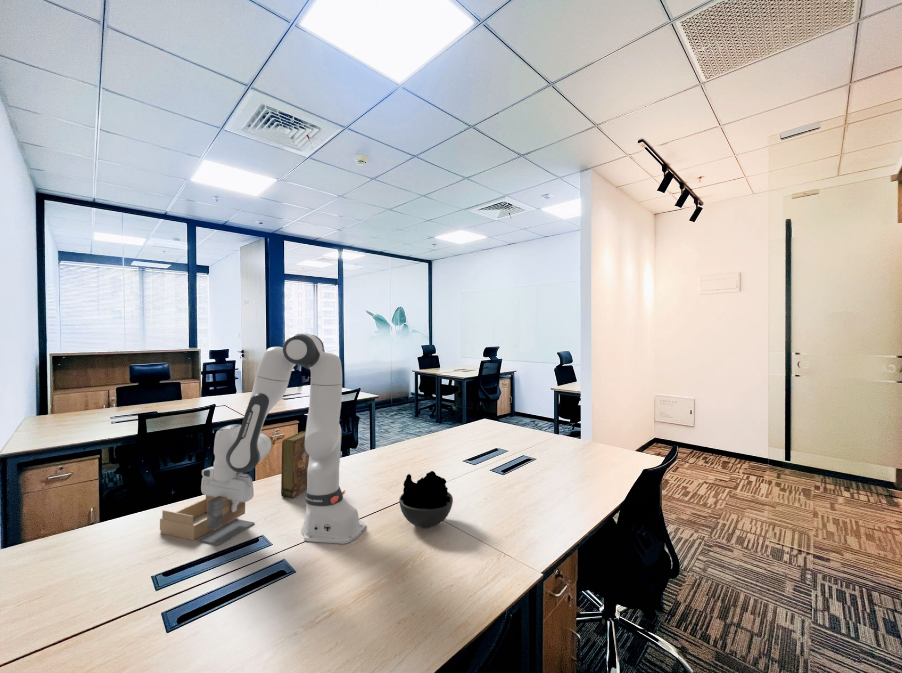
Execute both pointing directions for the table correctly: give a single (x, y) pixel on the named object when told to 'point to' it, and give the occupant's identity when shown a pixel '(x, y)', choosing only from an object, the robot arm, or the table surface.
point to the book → (294, 465)
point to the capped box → (222, 512)
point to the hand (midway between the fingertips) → (227, 510)
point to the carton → (185, 521)
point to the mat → (226, 532)
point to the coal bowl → (425, 500)
